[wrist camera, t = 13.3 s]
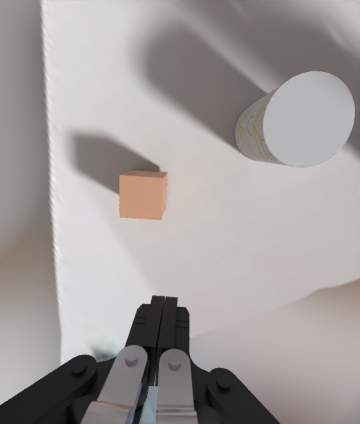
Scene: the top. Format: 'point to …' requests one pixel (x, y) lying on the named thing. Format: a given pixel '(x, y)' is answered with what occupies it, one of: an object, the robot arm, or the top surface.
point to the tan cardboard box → (142, 194)
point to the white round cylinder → (298, 121)
